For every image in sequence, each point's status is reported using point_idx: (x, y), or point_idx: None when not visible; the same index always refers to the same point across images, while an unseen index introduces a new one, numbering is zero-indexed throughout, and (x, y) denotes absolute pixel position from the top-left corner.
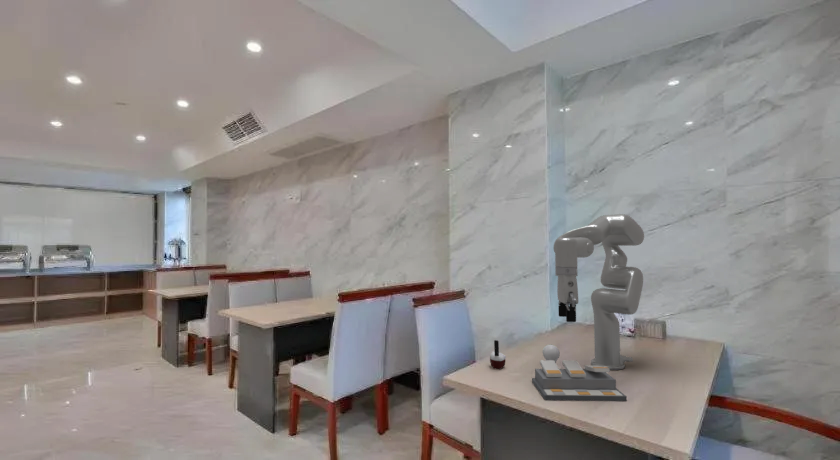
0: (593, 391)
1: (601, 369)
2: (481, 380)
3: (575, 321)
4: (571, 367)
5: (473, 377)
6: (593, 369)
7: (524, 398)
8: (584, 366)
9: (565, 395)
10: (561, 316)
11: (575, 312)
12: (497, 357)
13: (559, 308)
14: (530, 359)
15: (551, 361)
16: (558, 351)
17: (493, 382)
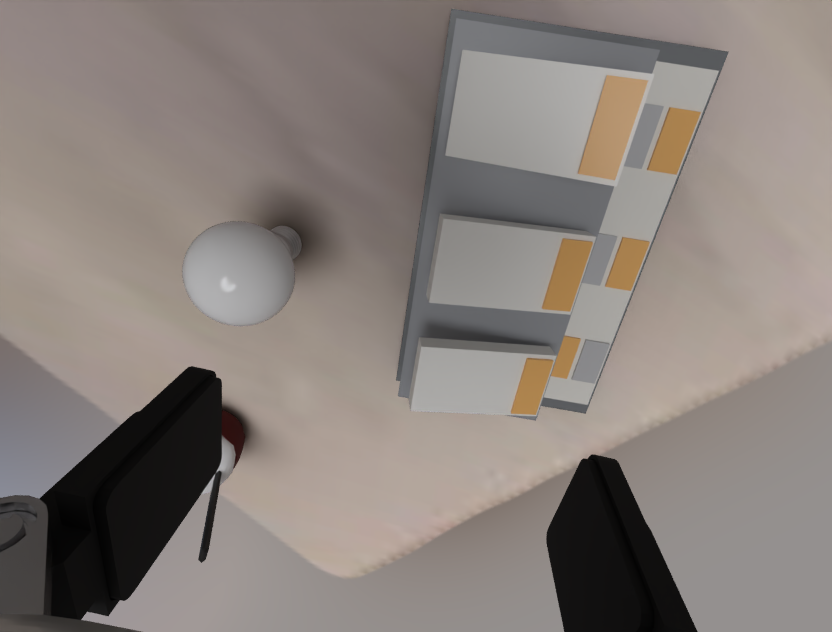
0: (618, 203)
1: (631, 137)
2: (365, 512)
3: (613, 464)
4: (512, 284)
5: (335, 524)
6: (597, 182)
7: (546, 453)
8: (448, 155)
9: (611, 343)
10: (216, 438)
11: (672, 596)
12: (227, 472)
13: (150, 565)
14: (81, 250)
15: (431, 362)
16: (265, 249)
17: (387, 488)
